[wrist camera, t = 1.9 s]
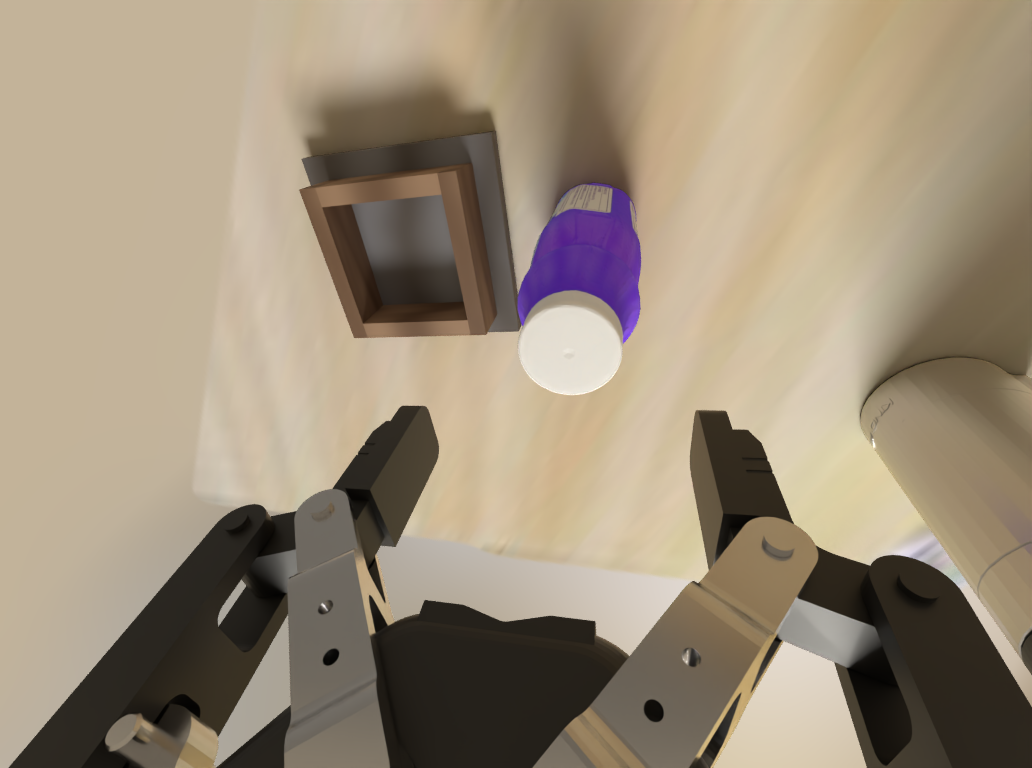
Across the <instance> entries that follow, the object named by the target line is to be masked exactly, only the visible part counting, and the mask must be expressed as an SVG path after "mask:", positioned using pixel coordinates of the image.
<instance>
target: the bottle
mask: <svg viewBox="0 0 1032 768" xmlns="http://www.w3.org/2000/svg"><path fill="white" fill-rule="evenodd" d="M640 268H641V252H640V242H639V239H638V234H637V225H636V211H635V208H634V205H633V202H632V200H631V199H630V198H629V196H628V195H627V194H626V193H625V192H623V191H622V190H620V189H617V188H614V187H612V186H611V185H607V184H600V183H591V184H581V185H578V186H575V187H573V188H571V189H570V190H568V191H567V192H566V193H565V194H564V195H563V196H562V198H561V199H560V201H559V202H558V204H557V206H556V209H555V211H554V213H553V215H552V217H551V219H550V220H549V223H548V224H547V226H546V227H545V228H544V230H543V232H542V233H541V235H540V236H539V239H538V241H537V244H536V247H535V250H534V254H533V258H532V261H531V266H530V269H529V271H528V273H527V274H526V276H525V277H524V280H523V282H522V285H521V288H520V291H519V294H518V313H519V317H520V321H521V324H522V326H523V328H522V330H521V332H520V335H519V341H518V353H519V358H520V361H521V364H522V366H523V368H524V370H525V371H526V373H527V374H528V375H529V377H530V378H531V379H532V380H534V381H535V382H536V383H537V384H539V385H540V386H542V387H543V388H545V389H548V390H550V391H552V392H555V393H559V394H565V395H579V394H585V393H588V392H592V391H594V390H596V389H598V388H600V387H602V386H603V385H604V384H606V383H607V382H608V381H609V380H610V379H611V378H612V377H613V376H614V374H615V373H616V371H617V370H618V367H619V365H620V362H621V359H622V345H623V343H624V342H625V341H626V340H627V339H628V337H629V336H630V335H631V333H632V332H633V330H634V328H635V326H636V324H637V321H638V318H639V314H640V295H639V290H638V282H639V276H640Z"/></svg>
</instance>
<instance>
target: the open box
mask: <svg viewBox="0 0 1032 768" xmlns="http://www.w3.org/2000/svg"><path fill="white" fill-rule="evenodd" d="M302 162H303V164H304V167H305V170H306V173H307V176H308V178H309V181H310V184H311V186H309V187H306V188H303V189H300V193H301V196H302V199H303V201H304V204H305V207H306V209H307V212H308V215H309V217H310V220H311V223H312V226H313V228H314V231H315V234H316V236H317V239H318V242H319V244H320V247H321V250H322V252H323V255H324V258H325V261H326V263H327V266H328V269H329V271H330V274H331V277H332V279H333V282H334V285H335V288H336V290H337V293H338V296H339V298H340V301H341V304H342V306H343V309H344V312H345V314H346V317H347V320H348V323H349V325H350V328H351V331H352V333H353V336H354V338H375V337H415V336H456V335H486V334H487V332H513V331H519V329H520V327H521V321H520V317H519V313H518V295H517V288H516V280H515V273H514V265H513V258H512V250H511V243H510V235H509V228H508V220H507V213H506V205H505V198H504V190H503V183H502V175H501V168H500V160H499V153H498V145H497V138H496V131H492V132H485V133H477V134H470V135H463V136H456V137H449V138H442V139H434V140H427V141H420V142H413V143H406V144H399V145H391V146H384V147H377V148H370V149H363V150H356V151H348V152H341V153H334V154H327V155H320V156H313V157H308V158H303V159H302Z"/></svg>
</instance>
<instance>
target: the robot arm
mask: <svg viewBox="0 0 1032 768" xmlns="http://www.w3.org/2000/svg"><path fill="white" fill-rule="evenodd" d="M860 420H861V428H862V430H863V433H864V435H865V436H866V438H867V439H868V441H869V442H870V444H871V445H872V446H873V448H874V449H875V451H876V452H877V454H878V455H879V457H880V458H881V459H882V461H883V462H884V464H885V465H886V467H887V468H888V470H889V471H890V473H891V474H892V476H893V477H894V478H895V480H896V481H897V483H898V484H899V486H900V487H901V488H902V490H903V491H904V493H905V494H906V496H907V497H908V498H909V500H910V501H911V503H912V504H913V506H914V507H915V508H916V510H917V511H918V513H919V514H920V516H921V517H922V518H923V520H924V521H925V523H926V524H927V526H928V527H929V528H930V530H931V531H932V533H933V534H934V536H935V537H936V538H937V540H938V541H939V543H940V544H941V546H942V547H943V548H944V550H945V551H946V553H947V554H948V556H949V557H950V558H951V560H952V561H953V563H954V564H955V566H956V567H957V568H958V570H959V571H960V573H961V574H962V576H963V577H964V578H965V580H966V581H967V583H968V584H969V585H970V587H971V588H972V590H973V591H974V593H975V594H976V595H977V597H978V598H979V600H980V601H981V603H982V604H983V605H984V607H985V608H986V609H987V611H988V612H989V613H990V615H991V617H992V618H993V619H994V621H995V622H996V624H997V625H998V627H999V628H1000V629H1001V631H1002V632H1003V634H1004V635H1005V637H1006V638H1007V639H1008V641H1009V642H1010V644H1011V645H1012V647H1013V648H1014V650H1015V651H1016V652H1017V654H1018V655H1019V657H1020V658H1021V659H1022V661H1023V662H1024V664H1025V666H1026V667H1027V669H1028V670H1029V671H1030V673H1031V675H1032V379H1031V378H1030V377H1028V376H1026V375H1011V374H1008V373H1007V372H1005V371H1004V370H1002V369H1001V368H1000V367H998V366H997V365H995V364H992V363H990V362H987V361H984V360H980V359H974V358H945V359H938V360H932V361H929V362H925V363H922V364H918V365H915V366H913V367H911V368H908V369H906V370H904V371H901V372H900V373H898V374H896V375H895V376H893V377H891V378H890V379H888V380H887V381H885V382H884V383H883V384H882V385H880V386H879V387H878V388H877V389H876V390H875V391H874V392H873V393H872V395H871V396H870V397H869V398H868V399H867V401H866V403H865V405H864V407H863V409H862V413H861V418H860ZM438 454H439V445H438V440H437V437H436V434H435V430H434V427H433V424H432V420H431V417H430V414H429V411H428V409H427V407H425V406H401V407H400V408H399V409H398V411H397V412H396V414H395V415H394V417H393V418H392V420H391V421H386V422H384V423H383V424H382V425H381V426H379V427H378V428H377V429H376V430H374V431H373V432H372V434H371V435H370V436H369V438H368V439H367V441H366V442H365V445H363V446H362V448H361V449H360V451H359V452H358V455H356V456H355V458H354V459H353V460H352V462H351V463H350V465H349V466H348V468H347V469H346V470H345V472H344V473H343V475H342V476H341V477H340V479H339V480H338V482H337V483H336V484H335V486H334V487H333V489H329V490H324V491H321V492H319V493H317V494H314V495H313V496H311V497H310V498H308V499H307V500H306V501H305V502H303V503H302V505H301V506H300V507H299V508H298V510H297V511H295V512H290V513H285V514H280V515H276V516H271V517H270V516H269V514H268V512H267V511H266V509H265V508H264V507H263V506H261V505H256V504H252V505H246V506H243V507H240V508H238V509H236V510H234V511H232V512H230V513H228V514H227V515H226V516H224V517H223V518H222V519H221V520H220V521H219V522H218V523H217V524H216V525H215V526H214V527H213V528H212V530H211V531H210V532H209V533H208V534H207V535H206V537H205V538H204V539H203V540H202V541H201V543H200V544H199V545H198V546H197V547H196V548H195V549H194V551H193V552H192V553H191V554H190V556H188V558H187V559H186V560H185V561H184V562H183V564H182V565H181V566H180V567H179V568H178V569H177V571H176V572H175V573H174V574H173V575H172V576H171V578H170V579H169V580H168V581H167V582H166V584H165V585H164V586H163V587H162V588H161V589H160V591H159V592H158V593H157V594H156V595H155V596H154V598H153V599H152V600H151V601H150V602H149V603H148V605H147V606H146V607H145V608H144V609H143V611H142V612H141V613H140V614H139V615H138V616H137V618H136V619H135V620H134V621H133V622H132V623H131V625H130V626H129V627H128V628H127V629H126V631H125V632H124V633H123V634H122V635H121V636H120V638H119V639H118V640H117V641H116V642H115V643H114V645H113V646H112V647H111V648H110V650H108V652H107V653H106V654H105V655H104V656H103V657H102V659H101V660H100V661H99V662H98V663H97V665H96V666H95V667H94V668H93V669H92V670H91V672H90V673H89V674H88V675H87V676H86V678H85V679H84V680H83V681H82V682H81V683H80V685H79V686H78V687H77V688H76V689H75V690H74V692H73V693H72V694H71V695H70V696H69V697H68V699H67V700H66V701H65V702H64V703H63V704H62V706H61V707H60V708H59V709H58V710H57V712H56V713H55V714H54V715H53V716H52V717H51V719H50V720H49V721H48V722H47V723H46V724H45V726H44V727H43V728H42V729H41V730H40V732H39V733H38V734H37V735H36V736H35V737H34V738H33V740H32V741H31V742H30V743H29V744H28V746H27V747H26V748H25V749H24V750H23V751H22V753H21V754H20V755H19V756H18V757H17V758H16V760H15V761H14V762H13V763H12V764H11V766H10V767H9V768H713V767H714V765H715V763H716V762H717V760H718V758H719V756H720V755H721V753H722V751H723V749H724V748H725V746H726V744H727V742H728V741H729V739H730V737H731V735H732V734H733V732H734V730H735V728H736V726H737V724H738V722H739V720H740V718H741V716H742V714H743V712H744V710H745V708H746V706H747V704H748V702H749V700H750V698H751V697H752V695H753V693H754V691H755V690H756V688H757V686H758V685H759V683H760V681H761V680H762V678H763V676H764V674H765V673H766V671H767V669H768V667H769V666H770V664H771V662H772V660H773V659H774V657H775V655H776V654H777V652H778V650H779V648H780V647H781V645H782V643H783V641H785V642H788V643H790V644H792V645H795V646H797V647H799V648H802V649H804V650H807V651H809V652H812V653H814V654H816V655H819V656H821V657H823V658H826V659H828V660H831V661H833V662H834V663H835V666H836V670H837V673H838V676H839V679H840V682H841V686H842V689H843V692H844V695H845V698H846V701H847V705H848V708H849V711H850V714H851V718H852V721H853V724H854V727H855V730H856V733H857V737H858V740H859V743H860V746H861V750H862V753H863V756H864V759H865V762H866V766H867V768H1032V707H1031V705H1030V703H1029V702H1028V700H1027V698H1026V697H1025V695H1024V694H1023V692H1022V690H1021V689H1020V687H1019V685H1018V684H1017V682H1016V680H1015V679H1014V677H1013V675H1012V674H1011V672H1010V670H1009V669H1008V667H1007V666H1006V664H1005V662H1004V660H1003V659H1002V657H1001V655H1000V654H999V652H998V651H997V649H996V647H995V646H994V644H993V642H992V641H991V639H990V637H989V636H988V634H987V632H986V631H985V629H984V627H983V626H982V624H981V622H980V621H979V619H978V617H977V616H976V614H975V612H974V611H973V609H972V607H971V606H970V604H969V602H968V601H967V599H966V598H965V596H964V594H963V593H962V591H961V590H960V589H959V588H958V586H957V585H956V584H955V583H954V582H953V581H952V580H950V579H949V578H948V577H947V576H946V575H944V574H943V573H942V572H940V571H939V570H937V569H935V568H934V567H932V566H930V565H928V564H926V563H924V562H921V561H919V560H916V559H913V558H909V557H905V556H899V555H888V556H883V557H880V558H878V559H876V560H875V561H874V562H873V563H872V564H871V566H869V565H866V564H863V563H860V562H857V561H853V560H850V559H847V558H844V557H841V556H838V555H835V554H832V553H829V552H827V551H825V550H823V549H821V548H819V547H818V546H816V545H815V543H814V542H813V540H812V539H811V538H810V536H809V535H808V534H807V533H806V532H804V531H803V530H802V529H801V528H799V527H798V526H796V525H794V523H793V521H792V519H791V516H790V514H789V511H788V509H787V506H786V504H785V501H784V499H783V496H782V494H781V491H780V489H779V486H778V484H777V481H776V479H775V476H774V474H772V469H771V466H770V463H769V461H767V456H766V453H765V451H764V448H763V446H762V443H761V442H760V441H759V440H758V439H757V438H755V437H754V436H753V435H752V434H751V433H750V432H749V431H748V430H732V427H731V424H730V421H729V417H728V415H727V412H726V411H709V410H697V411H696V412H695V417H694V425H693V433H692V442H691V450H690V470H691V477H692V482H693V487H694V493H695V498H696V504H697V509H698V514H699V520H700V525H701V530H702V536H703V541H704V547H705V552H706V557H707V563H708V568H709V571H708V573H707V574H706V575H705V577H704V578H703V579H702V580H701V581H700V582H699V583H697V582H695V581H692V582H691V583H689V584H688V585H687V586H686V587H685V588H684V589H683V590H682V592H681V593H680V594H679V595H678V597H677V598H676V599H675V600H674V602H673V603H672V604H671V605H670V607H669V608H668V609H667V611H666V612H665V613H664V614H663V615H662V617H661V618H660V619H659V620H658V622H657V623H656V624H655V625H654V627H653V628H652V629H651V630H650V632H649V633H648V634H647V635H646V637H645V638H644V639H643V640H642V642H641V643H640V644H639V645H638V647H637V648H636V649H635V650H634V652H633V653H632V654H631V655H630V656H629V655H628V654H627V653H625V652H624V651H623V650H621V649H620V648H619V647H617V646H616V645H614V644H612V643H611V642H609V641H607V640H605V639H603V638H601V637H598V636H596V626H595V625H596V624H595V621H588V620H580V619H571V618H564V617H556V616H546V617H538V618H531V619H524V620H516V621H509V622H503V621H499V620H497V619H495V618H492V617H490V616H488V615H486V614H483V613H481V612H479V611H476V610H474V609H472V608H470V607H467V606H465V605H459V604H451V603H443V602H436V601H428V600H425V601H424V603H423V606H422V609H421V611H420V614H416V615H412V616H409V617H405V618H403V619H400V620H399V621H396V622H395V621H394V618H393V615H392V612H391V608H390V604H389V600H388V596H387V592H386V588H385V584H384V580H383V576H382V572H381V568H380V564H379V560H378V557H377V555H376V553H377V551H378V550H379V548H380V546H381V545H382V546H392V547H396V545H397V543H398V541H399V538H400V537H401V534H402V532H403V530H404V528H405V526H406V524H407V522H408V520H409V518H410V516H411V514H412V512H413V510H414V508H415V505H416V503H417V501H418V499H419V497H420V495H421V493H422V491H423V489H424V487H425V485H426V483H427V481H428V479H429V476H430V474H431V472H432V470H433V468H434V466H435V464H436V462H437V459H438ZM241 579H242V581H243V582H244V583H245V584H246V588H245V589H244V590H243V592H242V593H241V595H240V596H239V598H238V599H237V601H236V602H235V603H234V605H233V606H232V608H231V609H230V611H229V612H228V614H227V615H226V617H225V618H224V620H223V621H222V622H221V624H220V625H219V627H218V615H219V612H220V609H221V608H222V606H223V605H224V603H225V602H226V600H227V599H228V597H229V596H230V595H231V593H232V592H233V590H234V589H235V587H236V586H237V585H238V583H239V582H240V580H241ZM287 615H288V624H289V659H290V696H291V705H290V706H289V707H288V708H287V709H285V710H284V711H283V712H282V713H281V714H279V715H278V716H277V717H276V718H275V719H274V720H272V721H271V722H270V723H269V724H268V725H267V726H265V727H264V728H263V729H262V730H261V731H259V732H258V733H257V734H256V735H255V736H253V737H252V738H251V739H250V740H249V741H248V742H246V743H245V744H244V745H243V746H241V747H240V748H239V749H238V750H237V751H236V752H234V753H233V754H232V755H231V756H230V757H228V758H227V759H226V760H225V761H224V762H223V763H222V764H220V765H219V766H218V767H215V765H214V762H215V759H216V756H217V751H218V736H219V734H220V733H221V731H222V729H223V727H224V726H225V724H226V722H227V720H228V719H229V717H230V715H231V713H232V712H233V710H234V708H235V706H236V705H237V703H238V701H239V699H240V698H241V696H242V694H243V692H244V690H245V689H246V687H247V685H248V683H249V682H250V680H251V678H252V676H253V675H254V673H255V671H256V669H257V668H258V666H259V664H260V662H261V661H262V659H263V657H264V655H265V654H266V652H267V650H268V648H269V646H270V645H271V643H272V641H273V639H274V638H275V636H276V634H277V632H278V631H279V629H280V627H281V625H282V624H283V622H284V620H285V618H286V617H287Z"/></svg>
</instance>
